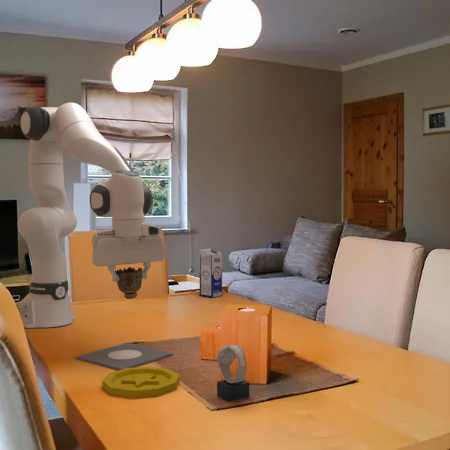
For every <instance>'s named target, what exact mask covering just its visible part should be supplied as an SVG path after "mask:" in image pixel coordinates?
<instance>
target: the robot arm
mask: <svg viewBox="0 0 450 450" xmlns="http://www.w3.org/2000/svg"><path fill="white" fill-rule="evenodd" d="M19 124H20V131H21V133H22V134H23V136H24V137H25V138H26V139H28V140H29V145H28V160H27V161H28V181H29V182H28V183H29V189H30V191H31V192H32V194H33V195H34V197H35V200H36V202H37V207H36V206H35V207H33V208H30V209H28V210H26V211H24V212H22V213H21V215H20V216H19V217H18V219H17V230H18V232H19V234H20V236H21V237H22V238H23V239H24V240H25V242H26V245H27V247H28V250H29V254H30V258H31V260H30V261H31V274H32V275H31V280H32V281H31V282H28V283H27V284H28V285H27V287H28V288H29V290H28V292H29V293H27V295H26V296H25V297H24V298H23V299H22V300H20V301H19V303H18V304H17V308H18V309H19V312H20V315H21V318H22V320H23V324H24V327H23V328H25V329H34V328H35V329H36V328H55V327H60V326H62V327H63V326H67V325H70V324H72V323H73V321H74V320H75V315H74V314H73V311H72V310H73V309H72V303H71V296H70V295H69V293H68V291H69V280H68V279H67V278H68V275H67V273H68V272H67V271H68V268H67V257H66V255H65V254H64V253H63V251H62V249H61V246H60V241H59V239H62V238H63V239H64V238H65V237H68V236H69V235H70V234H72V233H73V232H74V231H75V229H76V227H77V224H78V221H77V216H76V214H75V212H74V211H73V210H72V208H71V206H70V204H69V200H68V197H67V192H66V186H65V173H64V157H63V148H64V149H65V152H67V154H68V155H69V156H70V158H72V159H74V160H75V161H78V162H80V163H85V164H89V165H92V166H96V167H99V168H102V169H105V170H106V171H108V172H109V173H110V174H111V176H110V178H108V179H107V180H105V181H104V182H102V183H100V184H96V185H95V186H94V187H93V188H92V190H91V192H90V195H89V206H90V208H91V210H92V212H93V213H94V215H96V216H97V217H101V218H111V230H105V231H104V230H103V231H101V230H100V231H97V232H96V233H95V234H93V236H92V238H91V243H92V260H91V261H92V265H94V266H95V267H100V268H101V267H107V270H108V271H109V273H110V275H111V277H112V282H113V283H117V282H119V276H118V275H117V274H116V273H115V270H117V268H116V267H117V266H120V265H121V266H122V265H123V266H124V265H132V264H133V265H134V264H142V266H144V268H142V280H147V279H148V272H149V270H150V269H151V266H152V265H151V264H152V263H155V262H157V263H158V262H163V261H164V259H165V257H166V249H165V241H164V239H163V236H162V233H163V231H162V228H161V227H159V226H155V225H152V224H150V223H146V222H145V218H146V217H145V216H146V215H147V214H148V212H150V210H151V209H152V207H153V205H154V196H153V193H152V191H151V188H150V187H149V186H148V185H147V184H146V183H145V182H144V181H143V178H142V175H141V174H140V173H139V172H137V171H134V169H133V168H132V166H131V165H130V164H129V163H128V161H127V160H126V158H125V157H124V156H123V154H122V153H121V151H120V150H119V149H118V148H117V147H116V146H114V145H113V144H111V143H110V142H109V141H108V140H107V138H105V137H104V136H103V135H102V134H101V133H100V132H99V130H98V128H97V127H96V124H95V123H94V121H93V120H92V118H91V116H90V115H89V114H88V112H87V111H86V110H85V109H84V108H83V107H82V106H81V105H80V104H78V103H77V102H76V103H75V102H71V101H70V102H66V103H63V104H61V105H60V106H41V107H40V106H37V105H36V106H29V107H26V108H25V110H24V111H22V114H21V116H20V123H19Z"/></svg>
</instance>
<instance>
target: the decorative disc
mask: <svg viewBox="0 0 450 450" xmlns="http://www.w3.org/2000/svg"><path fill="white" fill-rule="evenodd" d="M101 381H102V382H101V386H102V390H104V391H106V393H108V395H110V396H116V397H122V398H128V399H138V398H150V397H152V398H153V397H159V396H162V395H165V394H168V393H170V392H174V391H176V390H177V388H178V386H179V384H180V374H179V373H177V372H175V371H174V370H171V369H170V368H164V367H157V366H156V367H155V366H150V365H148V366H138V367H134V368H125V369H122V370H114V371H112V372H108V374H107V375H106V376H105V377H103V379H102V380H101Z"/></svg>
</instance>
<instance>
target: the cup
mask: <svg viewBox="0 0 450 450" xmlns="http://www.w3.org/2000/svg"><path fill="white" fill-rule="evenodd" d="M114 271H115V273H116V274H117V275H118V276H119V282H116V283H117V287H118V290H119V291H120V292H121V293H123V297H124V299H126V300H127V299H128V300H133V299H135V298H137V297H138V291H140V290H141V287H142V284H143V279H142V271H143V268H142V267H138V268H137V269H135V266H134V267H131V266H129V267H127V268H125V267H124V268H123V269H122V268H119V269H118V268H116V269H114Z"/></svg>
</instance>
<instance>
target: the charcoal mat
mask: <svg viewBox="0 0 450 450" xmlns="http://www.w3.org/2000/svg"><path fill="white" fill-rule="evenodd" d="M168 356H169V357H172V356H174V354H173V352H169V351H164V350H161V349H157V348H152V347H148V346H145V345H139V344H135V343H130V342H125V343H121V344H117V345H114V346H110V347H106V348H101V349H99V350H95V351H91V352H87V353H84V354H83V353H82V354H80V355H76V356H75V359H76V360H80V361H84V362H87V363H90V364H94V365H97V364H98V366H101V367H105V368H108V369H113V370H114V371H118V370H122V369H125V368H134V367H142V366H144V365H147V364H150V363H153V361H154V362H156V360H157V361H159V359H160V360H163V359H165V358H169V357H168ZM162 358H163V359H162Z"/></svg>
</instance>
